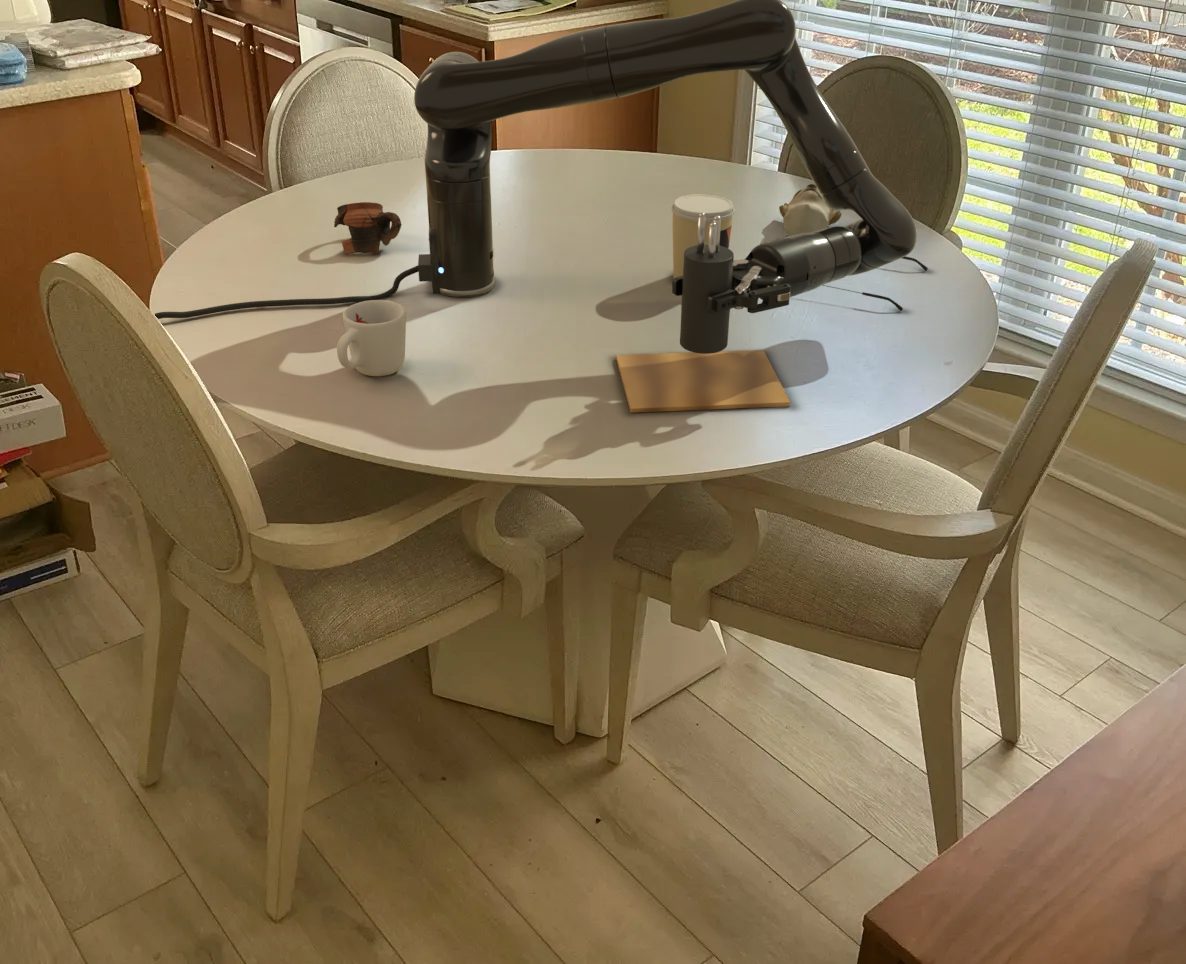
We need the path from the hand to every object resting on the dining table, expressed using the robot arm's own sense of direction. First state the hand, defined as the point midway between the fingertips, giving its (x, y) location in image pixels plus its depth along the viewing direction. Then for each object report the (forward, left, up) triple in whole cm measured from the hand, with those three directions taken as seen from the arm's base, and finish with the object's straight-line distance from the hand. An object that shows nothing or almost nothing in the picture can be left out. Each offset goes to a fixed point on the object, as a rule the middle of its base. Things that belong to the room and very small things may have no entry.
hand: (691, 296), depth 141 cm
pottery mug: (-43, +53, -13) cm, 70 cm away
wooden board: (+2, +1, -12) cm, 13 cm away
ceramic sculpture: (+30, +54, -13) cm, 63 cm away
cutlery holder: (+2, +1, -7) cm, 7 cm away
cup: (-40, +7, -13) cm, 43 cm away
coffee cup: (+8, +35, -13) cm, 38 cm away
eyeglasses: (+32, +33, -13) cm, 48 cm away
